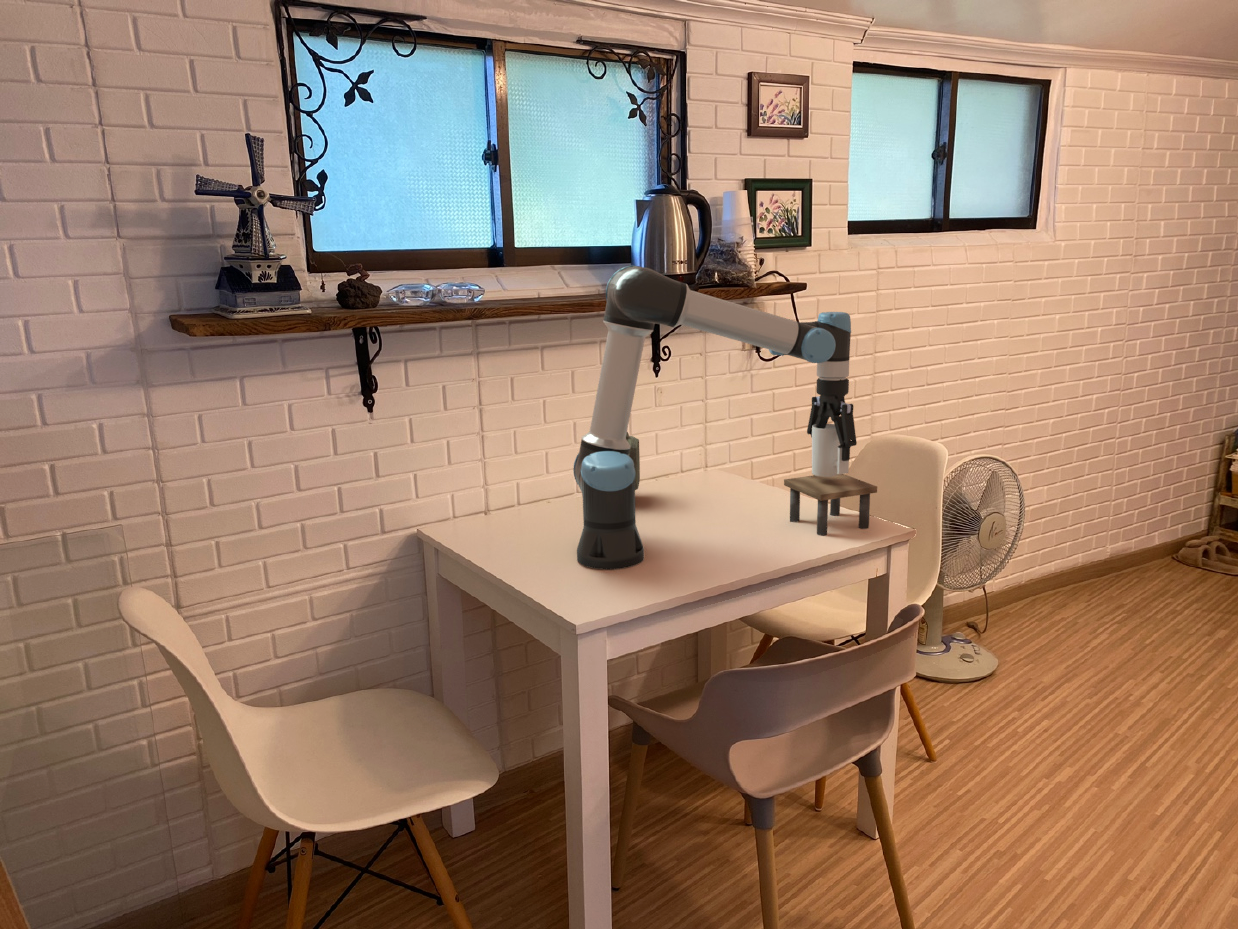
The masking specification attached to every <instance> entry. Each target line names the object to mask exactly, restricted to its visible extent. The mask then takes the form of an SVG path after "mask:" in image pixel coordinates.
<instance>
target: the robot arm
mask: <svg viewBox="0 0 1238 929" xmlns="http://www.w3.org/2000/svg"><path fill="white" fill-rule="evenodd" d="M605 299H606V304H605V310H604V315H603V324H604V325H605V326H606V328H607V330H608V331H607V336H606V341H605V347H604V352H603V356H602V357H603V358H602V363H601V369H600V373H599V378H598V379H599V380H598V384H597V390H596V394H595V395H596V396H595V401H594V406H593V410H592V411H593V412H592V417H591V422H590V426H589V427H590V428H589V432H587V433H585V434H584V435H583V436H582V437H581V441H580V447H579V452H578V453H577V455H576V457H575V459H574V462H573V469H572V470H573V471H572V472H573V477H574V480H575V482H576V484H577V485H578V488H579V490H580V491H581V495H582V514H583V515H582V517H583V528H582V531H581V534H580V538H579V542H578V545H577V547H576V548H577V549H576V561H577V562H578V563H579V564H580V565H581V566H584V567H586V568H590V569H596V570H621V569H626V568H627V569H628V568H631V567H634V566H636V565H639V564H640V563H642V562H643V561H644V559H645V547H644V545H643V542H642V539H641V536H640V534H639V531H638V528H637V521H636V490H635V468H634V463H633V460H632V459H631V458H630V457H629V452H630V447H631V446H630V445H629V443H628V442H627V440H626V434H627V432H628V428H629V422H630V417H631V412H632V409H633V408H632V407H633V404H634V403H633V401H634V397H635V394H636V391H635V390H636V387H637V381H638V376H639V372H640V366H641V361H642V356H643V351H644V347H645V346H644V345H645V339H646V337H647V336H649V335H650V334H652V333H653V332H654V329H655V324H657V325H663V326H666V327H670V328H676V327H678V326H680V325H681V326H685V327H688V328H692V329H695V330H698V331H703V332H705V333H710V334H713V335H716V336H720V337H724V338H728V339H731V340H734V341H737V342H741V343H744V344H748V345H752V346H755V347H758V348H762V349H765V350H766V349H767V350H768V351H769V353H770V354H771V355H773V356H781V357H784V356H790V357H793V358H797V359H800V360H805V361H807V362H808V363H812V364H816V376H817V377H818V378H817V379H816V388H815V389H816V390H815V391H816V394H817V395H818V396H812V397H811V407H810V413H809V420H808V423H807V424H808V425H807V429H806V433H807V435H810V436H811V438H812V426H813V425H815V424H816V428H820V429H824V428H825V427H826V424H828V421H829V419H831V420H830V421H832V422H833V424H835V428H836V432H837V435H838V439H839V443H840V445H839V446H838V460H837V474H845V475H846V474H849V468H850V467H849V466H850V464H849V463H850V457H851V447H854V446H857V436H856V426H855V420H854V403H846V400H845V396H847V395H848V394H849V389H850V388H849V387H850V385H849V384H850V380H849V379H848V377H849V376H850V360H851V359H850V355H851V354H850V352H851V337H852V336H851V335H852V322H851V315H850V314H849V313H847V312H843V311H825V312H824V311H823V312H820V313H819V314H818V316H817V320H816V321H805V322H803V321H801V322H800V321H796V320H793V319H791V318H790V319H789V318H785V317H783V316H780V315H775V314H773V313H769V312H765V311H764V310H763V311H762V310H758V309H757V308H752V307H749V306H745V305H742V304H738V303H736V302H732V301H728V300H726V299H722V298H718V297H715V296H712V295H708V294H705V293H701V292H697V291H695V290H691V289H690V287H689V285H688V284H687V283H684V282H682V281H678V280H675V279H672V278H670V277H668V276H665V275H664V274H661V273H660V272H658V271H656V270H654V269H652V268H648V267H643V266H639V265H627V266H624V267H622V268H619V269H618V270H617V271H616V272H614V273H613V275H612V276H611V277H610V279H609V280H608V282H607V284H606V287H605ZM844 441H845V442H844Z"/></svg>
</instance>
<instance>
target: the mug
mask: <svg viewBox="0 0 1238 929" xmlns="http://www.w3.org/2000/svg"><path fill="white" fill-rule="evenodd" d="M844 442H845V441H844ZM839 445H840V443H839V439H838V435H837V432H836V428H835V424H834V423H827V424H826V427H825V428H824V429H820V428H816V424H815V425H813V426H812V437H811V474H812V476H813V475H815V476H819V477H833V476H836V475H838V474H837V460H838V446H839Z"/></svg>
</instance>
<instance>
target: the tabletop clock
mask: <svg viewBox="0 0 1238 929" xmlns="http://www.w3.org/2000/svg"><path fill="white" fill-rule="evenodd" d="M629 434H630V433H628V431H627V434H626V440H627V442H628V443H629V445H630V446H631V447H630V452H629V457H630V458H631V459H632V460H633V463H634V468H635V491H637V490H638V489H639V486H640V482H641V481H640V480H641V478H640V477H641V467H640V465H641V464H640V462H641V461H640V460H641V459H640V440H639V438H637V437H635V436H633V435H629Z"/></svg>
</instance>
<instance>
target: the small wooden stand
mask: <svg viewBox="0 0 1238 929" xmlns="http://www.w3.org/2000/svg"><path fill="white" fill-rule="evenodd" d="M783 485H784V486H785V487H788V488H790V492H789V493H790V494H789V521H790V522H791V523H798V522H800V515H801V506H800V505H801V494H804V495H806V496H807V497H810V498H812V499H816V500H817V514H816V515H817V516H816V517H817V518H816V535H817V536H820V537H821V536H827V535H828V521H829V520H828V518H829V516H828V514H829V515H830V516H834V517H836V516H837V517H838V516H840V514H841V513H840V512H841V499H844V498H849V497H856V496H859V504H858V505H859V509H858V528H859V529H862V530H863V529H864V530H865V529H866V530H867V529H869V528H870V505H871V494H876V493H878V486H877V485H875V484H871V483H869V482H866V481H863V480H861V479H858V478H855V477H852V476H849V475H848V474H846V473H845V474H838V475H836V476H833V477H819V476H815V475H813V474H812V475H808V476H807V475H806V476H800V477H791V478H784V479H783ZM829 500H830V504H829ZM829 508H830V510H828V509H829ZM829 511H830V512H829Z"/></svg>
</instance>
